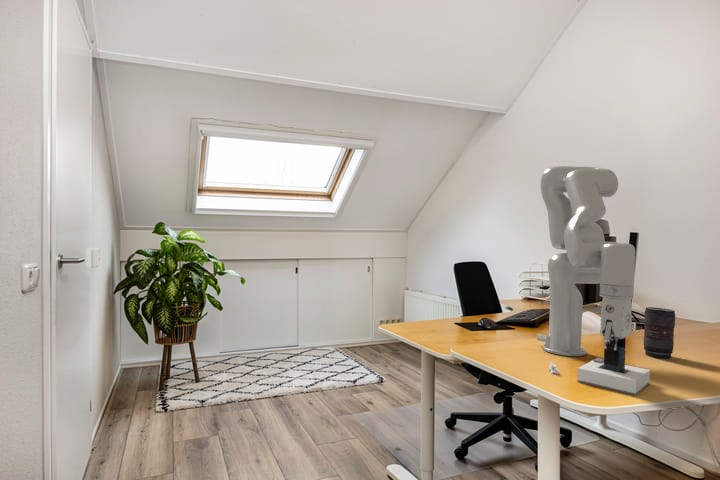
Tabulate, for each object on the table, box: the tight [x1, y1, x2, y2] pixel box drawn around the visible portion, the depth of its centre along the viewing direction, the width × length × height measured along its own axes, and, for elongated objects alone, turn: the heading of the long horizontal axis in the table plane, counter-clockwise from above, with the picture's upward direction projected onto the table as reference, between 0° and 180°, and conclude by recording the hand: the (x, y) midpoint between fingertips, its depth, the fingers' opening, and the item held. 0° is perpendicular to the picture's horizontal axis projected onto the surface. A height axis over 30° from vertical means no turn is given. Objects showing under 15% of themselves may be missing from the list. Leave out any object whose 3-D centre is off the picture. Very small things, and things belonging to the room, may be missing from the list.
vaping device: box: [603, 336, 627, 373], centre depth 116 cm, size 3×5×12 cm, turn 24°
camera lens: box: [643, 306, 676, 360], centre depth 143 cm, size 8×8×15 cm
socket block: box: [577, 357, 651, 396], centre depth 116 cm, size 13×13×4 cm
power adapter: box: [548, 361, 559, 375], centre depth 123 cm, size 3×3×3 cm
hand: (613, 362), depth 116 cm, fingers closed on vaping device, 3 cm apart
